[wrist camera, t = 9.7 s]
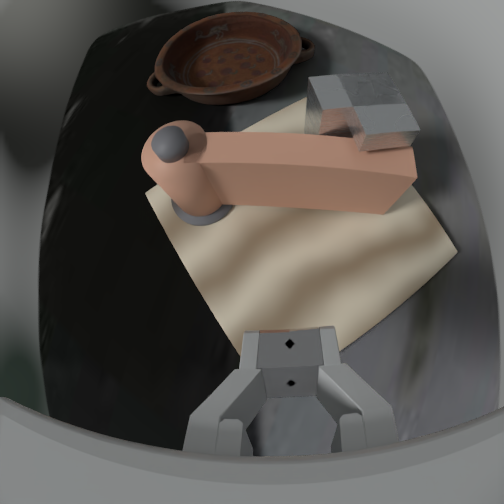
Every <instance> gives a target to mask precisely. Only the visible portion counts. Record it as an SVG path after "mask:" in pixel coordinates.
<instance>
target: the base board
mask: <svg viewBox="0 0 504 504" xmlns="http://www.w3.org/2000/svg"><path fill="white" fill-rule="evenodd" d="M306 102H307V97H306V98H304V99H302V100H300V101H298V102H296V103H294V104H292V105H290V106H288V107H286V108H284V109H282V110H280V111H278V112H276V113H274V114H272V115H270V116H268V117H267V118H265V119H263V120H261V121H259V122H257V123H255V124H254V125H252V126H250V127H248V128H247V129H245V130H243V131H241V132H273V133H296V134H304V126H305V114H306ZM145 194H146V196H147V198H148V200H149V202H150V204H151V206H152V207H153V209H154V211H155V213H156V215H157V217H158V219H159V221H160V222H161V224H162V226H163V228H164V230H165V232H166V233H167V235H168V237H169V239H170V241H171V243H172V244H173V246H174V248H175V250H176V251H177V253H178V255H179V257H180V258H181V260H182V262H183V264H184V265H185V267H186V269H187V271H188V272H189V274H190V276H191V278H192V279H193V281H194V283H195V284H196V286H197V288H198V289H199V291H200V293H201V294H202V296H203V298H204V299H205V301H206V303H207V304H208V306H209V308H210V309H211V311H212V312H213V314H214V316H215V317H216V319H217V321H218V322H219V324H220V325H221V327H222V328H223V330H224V332H225V333H226V335H227V336H228V338H229V339H230V341H231V343H232V344H233V346H234V347H235V349H236V350H237V352H238V353H239V355H240V356H241V351H242V342H243V334H244V332H245V331H249V330H285V329H296V328H309V327H322V326H334V327H335V331H336V336H337V341H338V347H339V351H341V350H342V349H344V348H345V347H347V346H348V345H349V344H351V343H352V342H353V341H355V340H356V339H358V338H359V337H360V336H362V335H363V334H364V333H366V332H367V331H368V330H370V329H371V328H372V327H373V326H375V325H376V324H377V323H379V322H380V321H381V320H382V319H384V318H385V317H386V316H387V315H389V314H390V313H391V312H392V311H394V310H395V309H396V308H397V307H398V306H400V305H401V304H402V303H403V302H404V301H406V300H407V299H408V298H409V297H410V296H411V295H413V294H414V293H415V292H416V291H417V290H418V289H419V288H421V287H422V286H423V285H424V284H425V283H426V282H427V281H428V280H429V279H430V278H432V277H433V276H434V275H435V274H436V273H437V272H438V271H439V270H440V269H441V268H442V267H443V266H444V265H445V264H446V263H447V262H448V261H449V260H450V259H451V258H452V257H453V256H454V255H455V254H456V253H457V250H456V248H455V247H454V245H453V243H452V242H451V240H450V239H449V237H448V236H447V234H446V232H445V231H444V229H443V228H442V226H441V225H440V223H439V222H438V220H437V219H436V217H435V216H434V215H433V213H432V212H431V210H430V209H429V207H428V206H427V205H426V203H425V202H424V200H423V199H422V198H421V196H420V195H419V194H418V192H417V191H416V190H415V188H414V187H413V186H412V184H411V186H410V187H409V188H408V189H407V190H406V191H405V192H404V193H403V194H402V195H401V196H400V197H399V199H398V200H397V201H396V202H395V203H394V204H393V205H392V206H391V207H390V208H389V209H388V210H387V211H386V212H385V213H384V214H383V215H381V214H370V213H359V212H347V211H334V210H321V209H306V208H290V207H271V206H250V205H223V204H222V205H221V207H220V208H219V209H218V210H216V211H215V212H213V213H212V214H209V215H206V216H201V217H197V216H191V215H189V214H187V213H185V212H184V211H183V210H182V209H181V208H180V207H179V206H178V205H177V204H176V203H175V202H174V201H173V200H172V199H171V198H170V196H169V195H168V194H167V193H166V192H165V191H164V190H163V189H162V188H161V187H160V186H159V185H156V186H155V187H153V188H152V189H150V190H149V191H148V192H146V193H145Z"/></svg>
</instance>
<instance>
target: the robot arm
mask: <svg viewBox="0 0 504 504" xmlns="http://www.w3.org/2000/svg"><path fill="white" fill-rule="evenodd" d="M304 396H317V398H318V400H319V401H320V402H321V404H322V405H323V406H324V407H325V409H326V410H327V411H328V413H329V414H330V415H331V416H332V418H333V419H334V420H335V421H336V423H337V424H338V425H337V429H336V432H335V435H334V438H333V441H332V444H331V453H328V454H317V455H303V456H278V457H255V456H253V448H252V446H251V443H250V441H249V438H248V435H247V433H246V428H247V427H248V426H249V424H250V423H251V421H252V420H253V419H254V417H255V416H256V415H257V413H258V412H259V410H260V409H261V408H262V406H263V405H264V403H265V402H266V400H267V398H283V397H304ZM0 504H504V407H502V408H500V409H498V410H495V411H493V412H491V413H488V414H486V415H484V416H481V417H479V418H476V419H474V420H471V421H468V422H465V423H463V424H460V425H457V426H454V427H451V428H448V429H445V430H442V431H439V432H435V433H432V434H428V435H425V436H421V437H417V438H414V439H410V440H405V441H401V442H399V439H398V434H397V429H396V424H395V419H394V415H393V410H392V406H391V405H390V404H389V403H388V402H387V401H385V400H384V399H383V398H382V397H381V396H380V395H379V394H378V393H377V392H376V391H375V390H374V389H373V388H372V387H370V386H369V385H368V384H367V383H366V382H365V381H364V380H363V379H362V378H361V377H360V376H359V375H358V374H357V373H356V372H354V371H353V370H352V369H351V368H350V367H349V366H348V365H347V364H346V363H344V364H341V358H340V352H339V347H338V341H337V336H336V331H335V327H334V326H322V327H309V328H296V329H285V330H249V331H245V332H244V334H243V342H242V351H241V359H240V367H239V369H235V370H234V371H233V372H232V373H231V374H230V375H229V376H228V377H227V378H226V379H225V380H224V381H223V382H222V383H221V385H220V386H219V387H218V388H217V389H216V390H215V391H214V392H213V393H212V394H211V395H210V396H209V397H208V398H207V399H206V400H205V401H204V402H203V403H202V404H201V405H200V406H199V407H198V408H197V409H196V410H195V411H194V412H193V413H192V414H191V415H190V419H189V423H188V428H187V432H186V437H185V442H184V446H183V451H179V450H172V449H166V448H160V447H155V446H149V445H144V444H139V443H135V442H130V441H126V440H122V439H118V438H114V437H110V436H106V435H103V434H99V433H96V432H92V431H89V430H86V429H82V428H79V427H76V426H73V425H70V424H68V423H65V422H62V421H59V420H56V419H54V418H51V417H49V416H46V415H44V414H41V413H39V412H36V411H34V410H32V409H29V408H27V407H25V406H22V405H20V404H18V403H16V402H14V401H12V400H10V399H8V398H5V397H0Z"/></svg>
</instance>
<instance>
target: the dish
mask: <svg viewBox="0 0 504 504" xmlns="http://www.w3.org/2000/svg"><path fill="white" fill-rule="evenodd" d="M302 48H304V49H306V50H302ZM314 49H315V45H314V44H313V43H312V41H310V40H308V39H306V38H303V37H300V34H299V32H298V31H297V30H296V29H295V28H294V27H293V26H292V25H290V24H289V23H287V22H285V21H284V20H282V19H279V18H277V17H274V16H271V15H267V14H263V13H256V12H231V13H223V14H217V15H214V16H210V17H207V18H204V19H202V20H200V21H197V22H195V23H192V24H191V25H189V26H187V27H185V28H184V29H182V30H180V31H179V32H178V33H177V34H175V35H174V36H173V37H172V38H171V39H170V40H168V42H167V43H166V44H165V45H164V47H163V48H162V50H161V51H160V53H159V55H158V57H157V60H156V63H155V72H154V73H153V74H152V75H151V76H150V78H149V79H148V82H147V87H148V89H149V90H150V91H151V92H152V93H154V94H155V95H159V96H164V95H169V94H175V93H180V94H182V95H183V96H185V97H187V98H188V99H190V100H193V101H195V102H199V103H203V104H210V105H225V104H234V103H239V102H243V101H247V100H251V99H254V98H256V97H259V96H261V95H263V94H265V93H267V92H268V91H270V90H272V89H273V88H275V87H276V86H277V85H278V84H280V83H281V82H282V80H283V79H284V78H285V76H286V75H287V73H288V72H289V70H290V68H291V66H292V65H293V64H296V63H301V62H304V61H307V60H309V59H311V58H312V57H313V55H314ZM159 81H160V82H161V83H162V84H163V85H162V86H160V87H156V86H157V83H158V82H159Z"/></svg>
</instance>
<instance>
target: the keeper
mask: <svg viewBox="0 0 504 504" xmlns="http://www.w3.org/2000/svg"><path fill="white" fill-rule="evenodd" d="M419 132H420V128H419V126H418V124H417V122H416V120H415V118H414V117H413V115H412V113H411V111H410V109H409V107H408V105H407V104H406V102H405V100H404V98H403V97H402V95H401V93H400V92H399V90H398V88H397V87H396V85H395V83H394V82H393V80H392V78H391V77H390V75H389V74H388V73H354V74H337V75H325V76H315V77H308V89H307V102H306V114H305V126H304V134H312V135H325V136H336V137H346V138H354V141H355V143H356V146H357V148H358V151H359V152H361V151H369V150H377V149H385V148H394V147H404V146H410V145H411V144H412V142H413V141H414V139H415V138H416V136H417V135H418V133H419Z"/></svg>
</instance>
